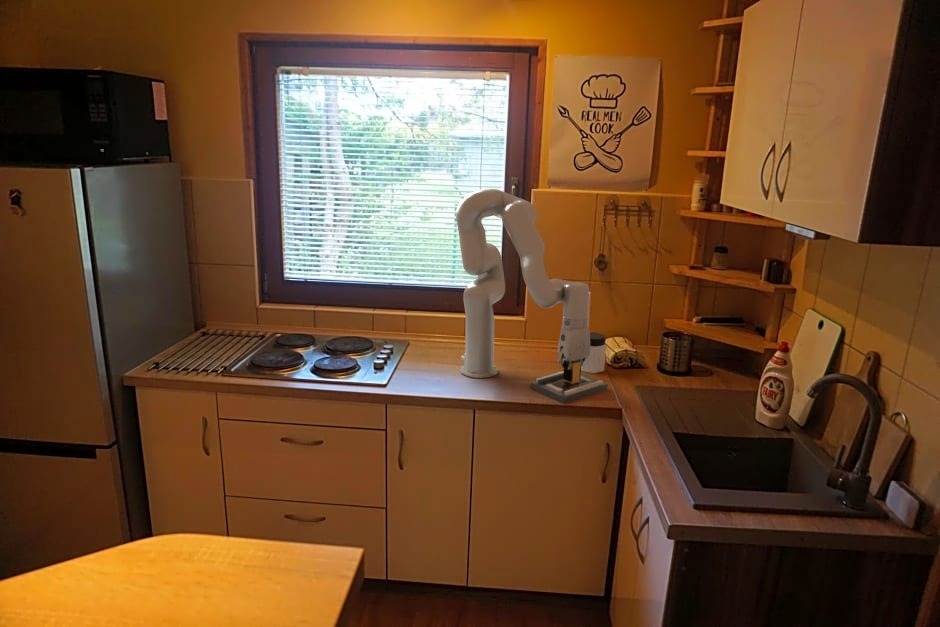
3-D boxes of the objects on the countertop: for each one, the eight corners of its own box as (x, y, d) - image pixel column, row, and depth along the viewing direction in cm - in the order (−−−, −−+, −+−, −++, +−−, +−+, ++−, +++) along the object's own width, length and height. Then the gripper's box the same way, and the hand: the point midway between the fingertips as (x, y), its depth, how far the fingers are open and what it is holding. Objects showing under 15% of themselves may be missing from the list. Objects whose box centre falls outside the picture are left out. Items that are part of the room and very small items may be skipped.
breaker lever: (563, 380, 198) (564, 357, 196) (570, 378, 200) (572, 355, 198) (572, 384, 195) (573, 360, 193) (579, 382, 197) (581, 358, 195)
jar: (590, 375, 210) (592, 340, 207) (573, 367, 217) (575, 334, 213) (609, 370, 215) (611, 336, 212) (592, 363, 221) (594, 330, 218)
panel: (530, 388, 198) (530, 381, 198) (572, 375, 209) (573, 369, 209) (564, 403, 187) (564, 397, 186) (607, 389, 198) (607, 383, 197)
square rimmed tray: (535, 381, 198) (535, 378, 198) (571, 371, 207) (571, 368, 207) (566, 395, 187) (566, 392, 187) (603, 384, 197) (603, 381, 196)
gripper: (564, 329, 185) (561, 388, 190) (602, 321, 195) (598, 377, 200) (546, 324, 191) (544, 381, 196) (584, 316, 201) (581, 370, 205)
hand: (571, 378), depth 198 cm, fingers closed on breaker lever, 3 cm apart
